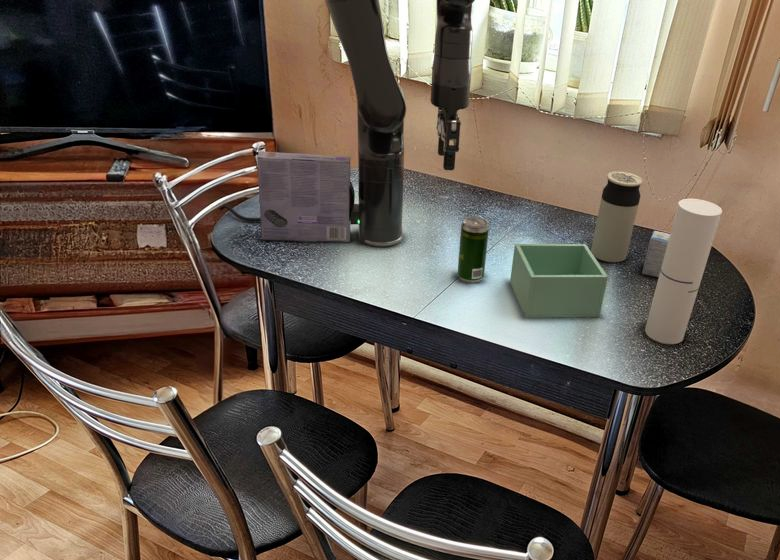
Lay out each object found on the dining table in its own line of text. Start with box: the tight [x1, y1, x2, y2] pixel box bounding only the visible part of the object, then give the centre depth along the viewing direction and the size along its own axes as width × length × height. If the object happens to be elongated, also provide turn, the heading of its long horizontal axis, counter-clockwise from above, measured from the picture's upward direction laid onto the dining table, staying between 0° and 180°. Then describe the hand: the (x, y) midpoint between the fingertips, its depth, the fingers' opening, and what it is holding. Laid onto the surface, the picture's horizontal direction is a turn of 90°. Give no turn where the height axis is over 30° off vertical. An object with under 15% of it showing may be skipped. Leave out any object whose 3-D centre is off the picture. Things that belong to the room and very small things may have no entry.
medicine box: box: [641, 230, 670, 278], centre depth 145 cm, size 8×4×9 cm, turn 71°
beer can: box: [457, 216, 490, 284], centre depth 134 cm, size 5×5×12 cm
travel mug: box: [590, 171, 644, 263], centre depth 147 cm, size 8×8×18 cm
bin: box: [509, 243, 609, 319], centre depth 131 cm, size 15×14×9 cm
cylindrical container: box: [644, 198, 723, 345], centre depth 120 cm, size 7×7×25 cm
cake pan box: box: [256, 150, 356, 243], centre depth 141 cm, size 19×5×18 cm, turn 100°
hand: (445, 162), depth 141 cm, fingers open, 8 cm apart
